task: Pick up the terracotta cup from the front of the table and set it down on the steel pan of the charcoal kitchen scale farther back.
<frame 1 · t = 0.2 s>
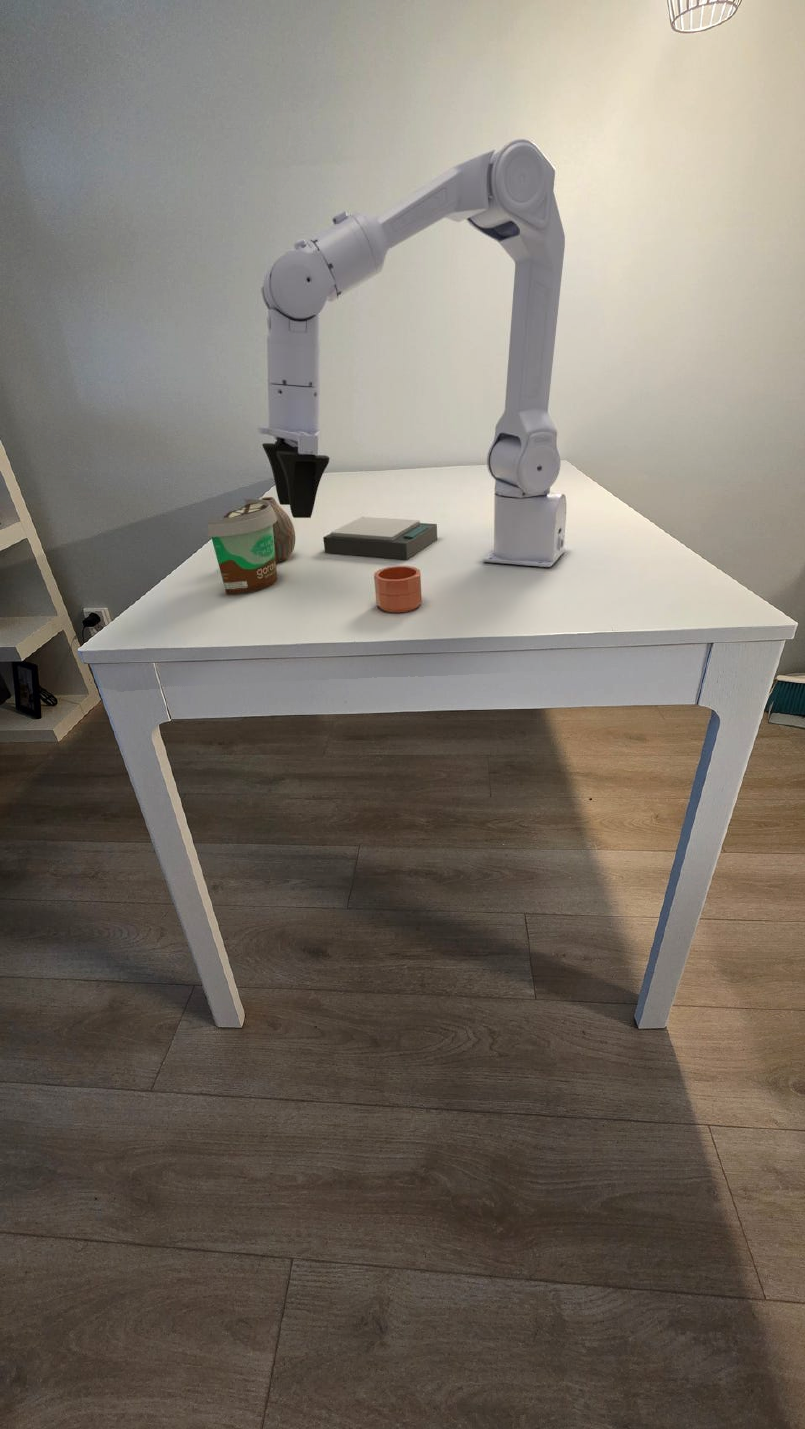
hand: (294, 510, 78), 10 cm above the table, tool pointing down, fingers open, 7 cm apart
food container: (262, 584, 88), on the table
terracotta cup: (399, 605, 77), on the table
scale: (381, 546, 99), on the table
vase: (275, 559, 97), on the table
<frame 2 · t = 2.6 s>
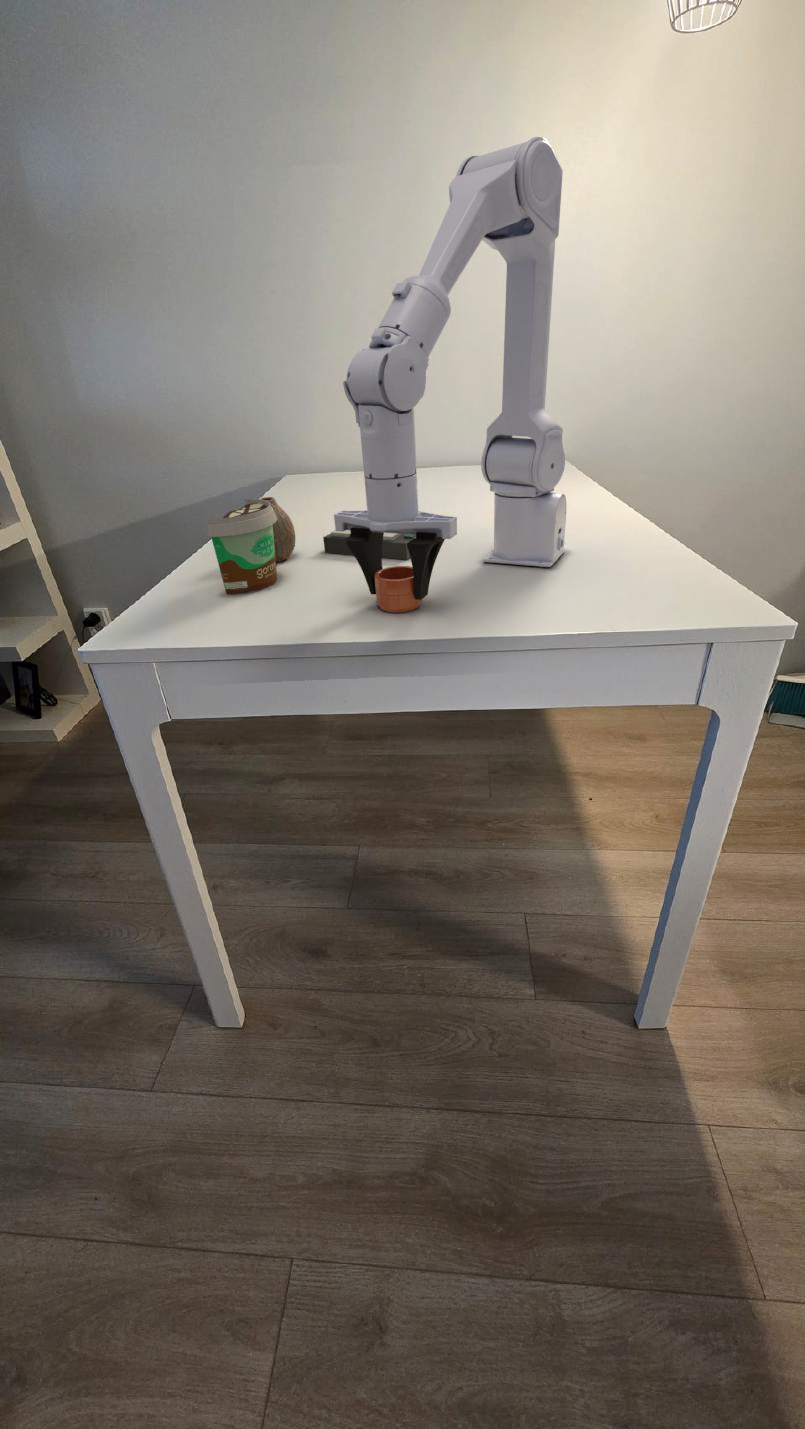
hand: (398, 594, 76), 1 cm above the table, tool pointing down, fingers closed on terracotta cup, 5 cm apart
terracotta cup: (399, 605, 77), on the table, touching gripper
everything else where it was.
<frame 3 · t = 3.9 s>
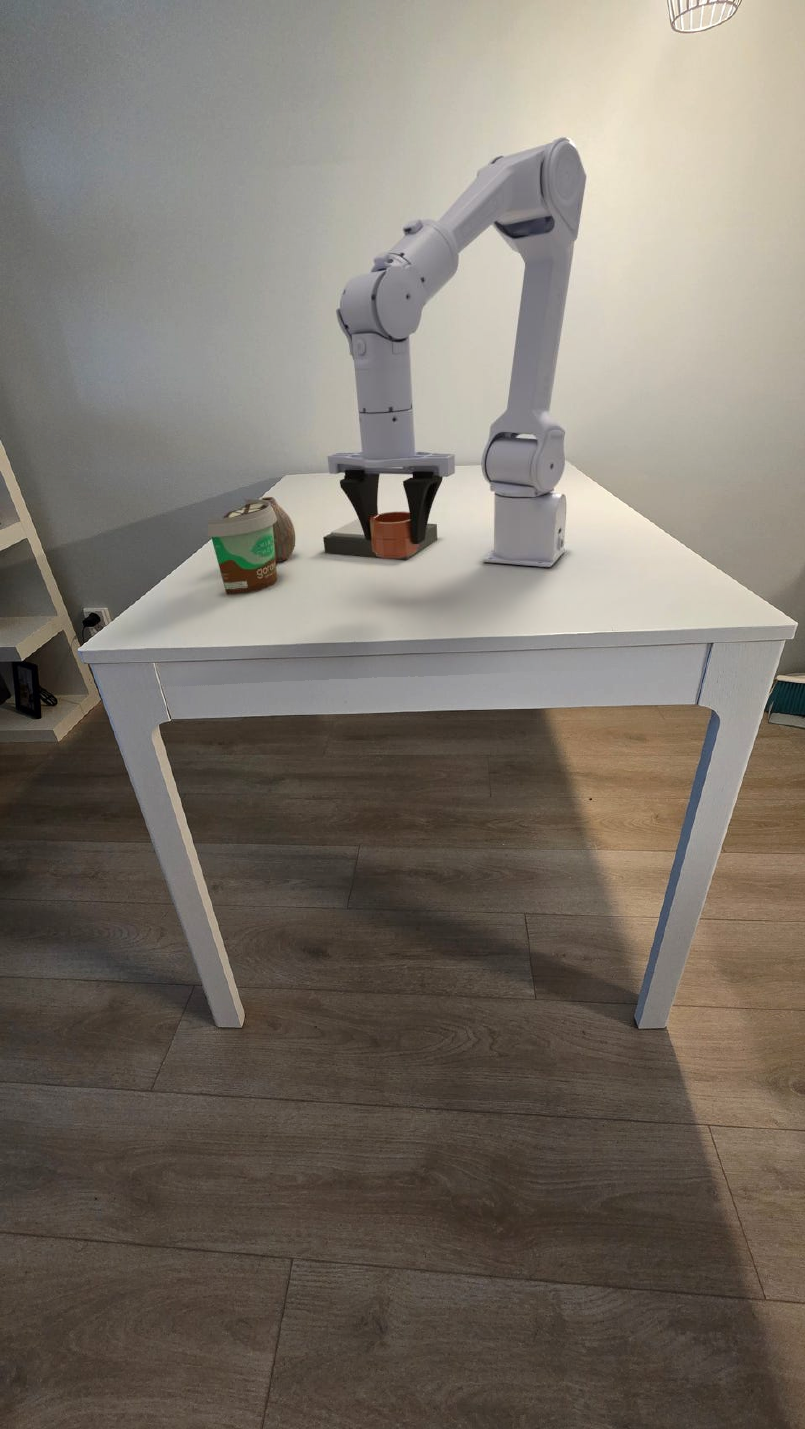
hand: (394, 540, 74), 8 cm above the table, tool pointing down, fingers closed on terracotta cup, 5 cm apart
terracotta cup: (396, 552, 75), point 6 cm above the table, touching gripper
everything else where it was.
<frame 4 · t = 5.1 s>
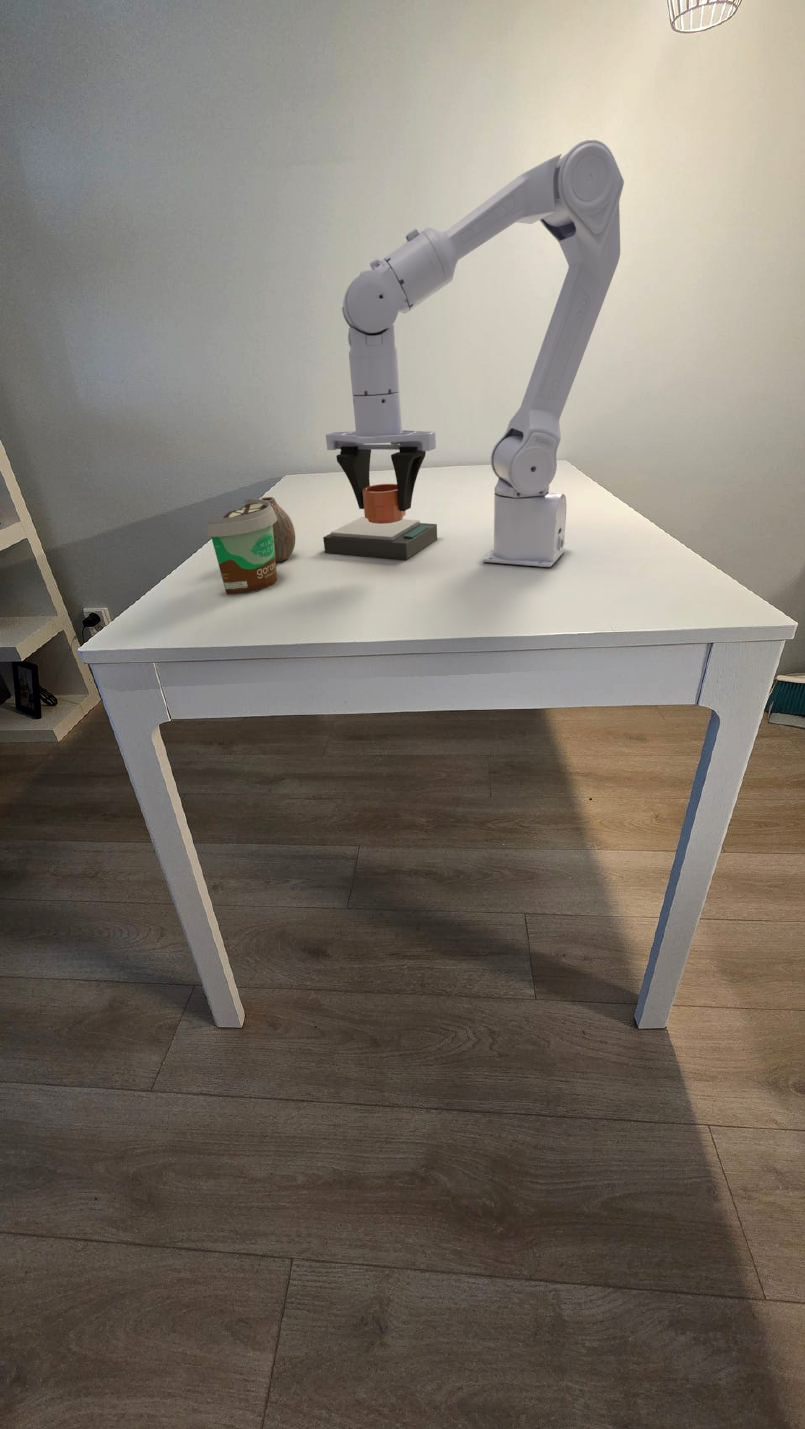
hand: (384, 508, 85), 8 cm above the table, tool pointing down, fingers closed on terracotta cup, 5 cm apart
terracotta cup: (385, 519, 85), point 7 cm above the table, touching gripper
everything else where it was.
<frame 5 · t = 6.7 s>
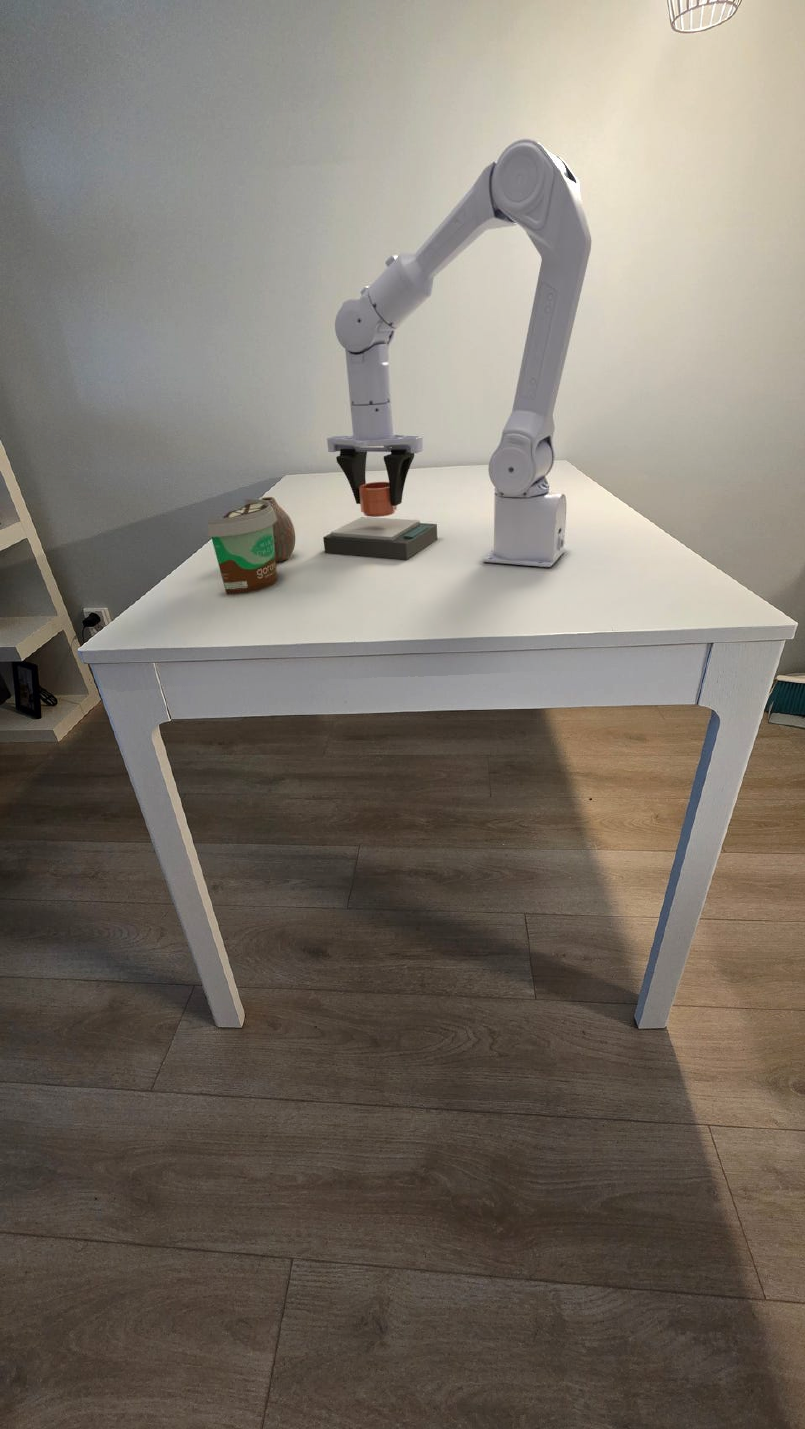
hand: (378, 503, 96), 6 cm above the table, tool pointing down, fingers closed on terracotta cup, 5 cm apart
terracotta cup: (379, 513, 97), point 5 cm above the table, touching gripper
everything else where it was.
when the fingers open (4 cm above the table, at t = 7.9 s): terracotta cup stays where it is, resting on scale.
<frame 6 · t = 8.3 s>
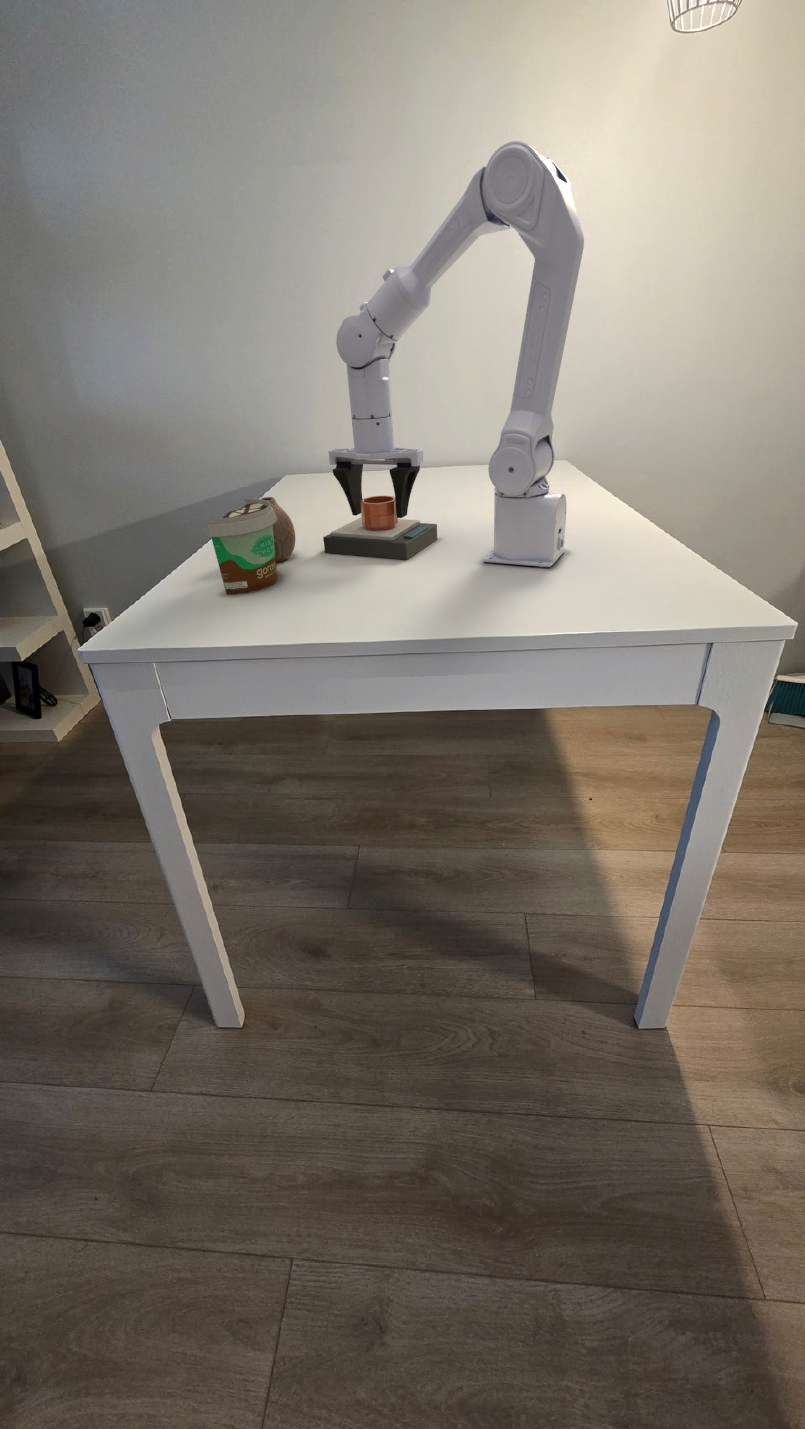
hand: (379, 515, 97), 5 cm above the table, tool pointing down, fingers open, 7 cm apart
terracotta cup: (380, 526, 98), point 3 cm above the table, touching scale
everything else where it was.
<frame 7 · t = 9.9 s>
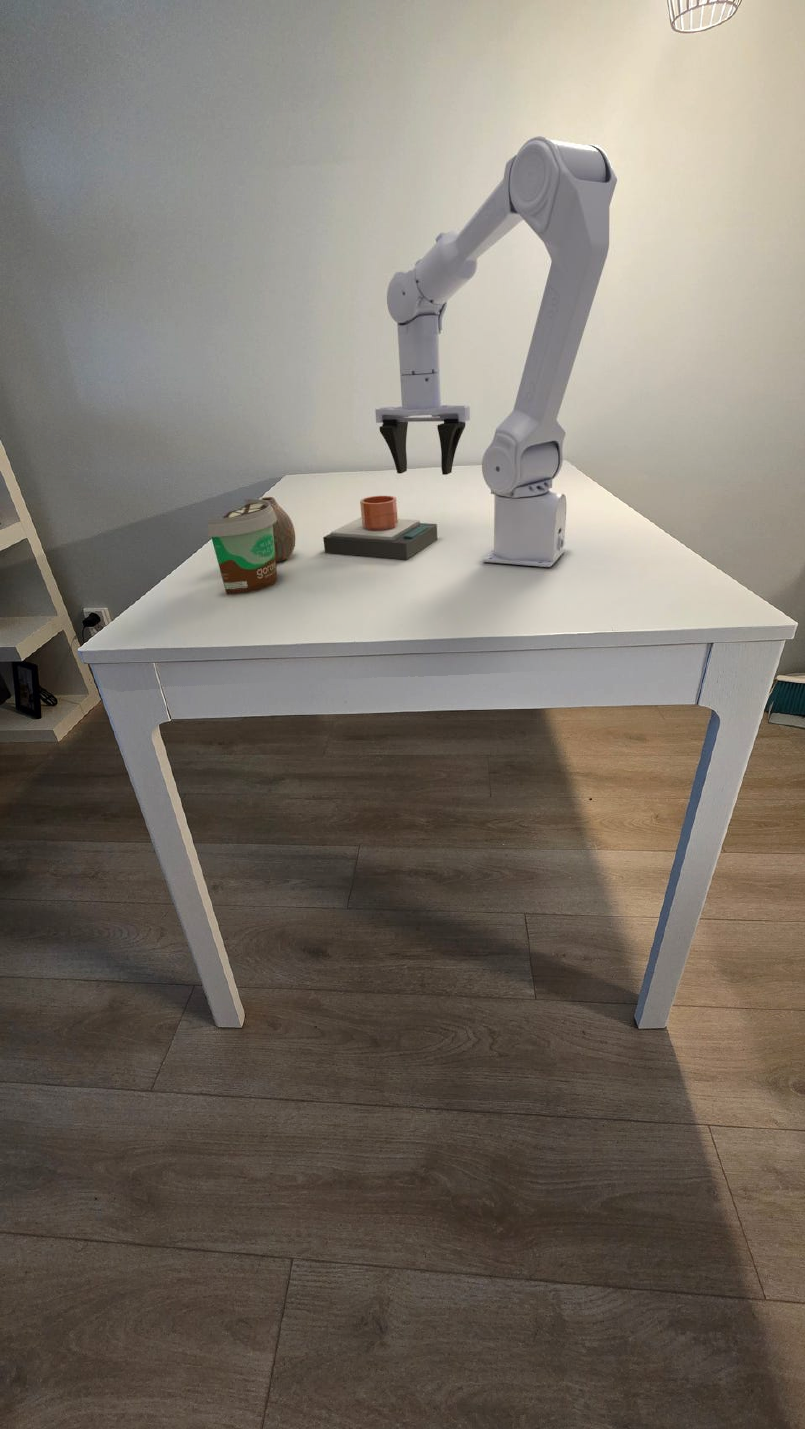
hand: (424, 473, 99), 9 cm above the table, tool pointing down, fingers open, 7 cm apart
nothing on the table moved.
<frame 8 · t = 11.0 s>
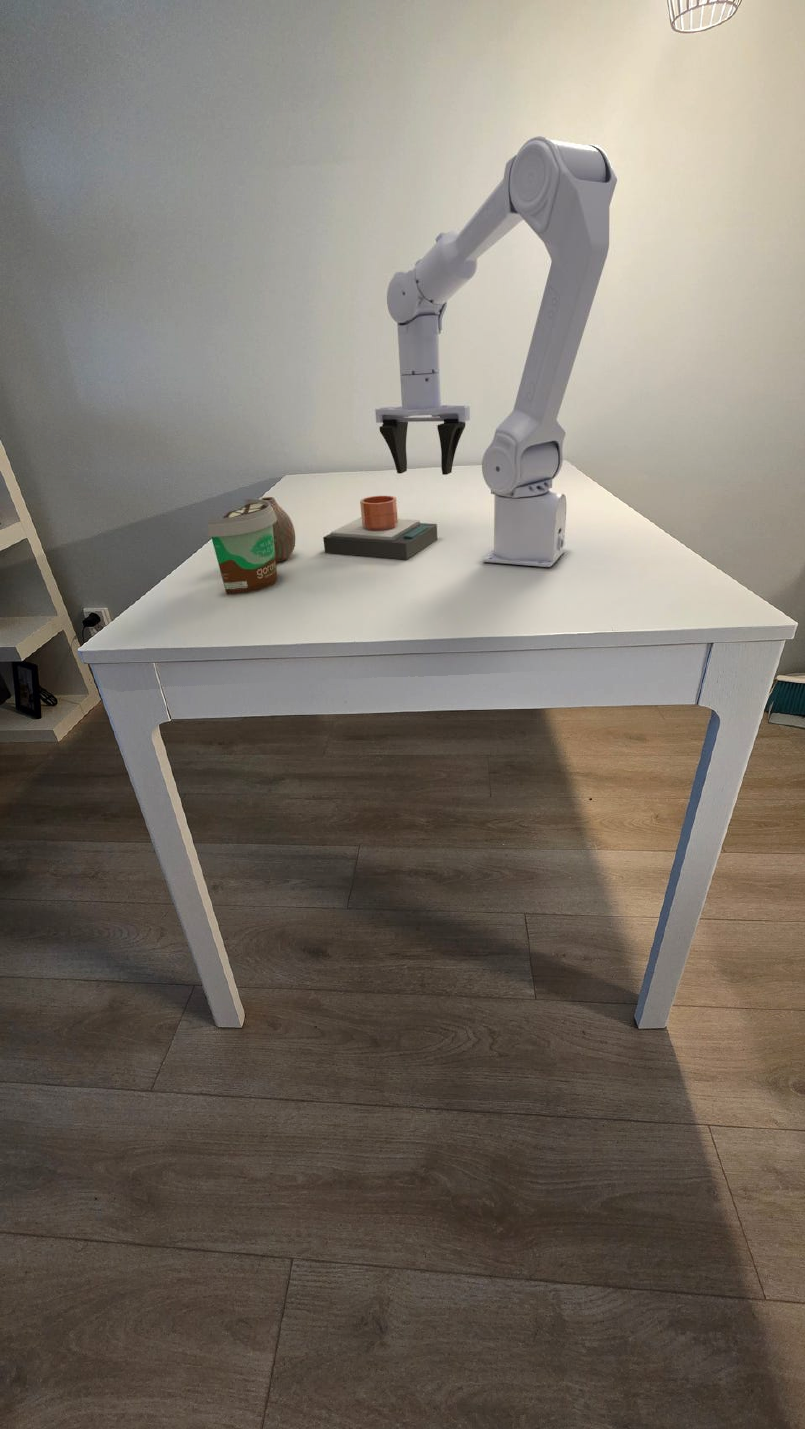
hand: (424, 473, 99), 9 cm above the table, tool pointing down, fingers open, 7 cm apart
nothing on the table moved.
at the end: terracotta cup inside the target area on the scale (0.8 cm from its centre), point 3.0 cm above the scale's base; terracotta cup tilted 0°; the gripper is holding nothing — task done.
